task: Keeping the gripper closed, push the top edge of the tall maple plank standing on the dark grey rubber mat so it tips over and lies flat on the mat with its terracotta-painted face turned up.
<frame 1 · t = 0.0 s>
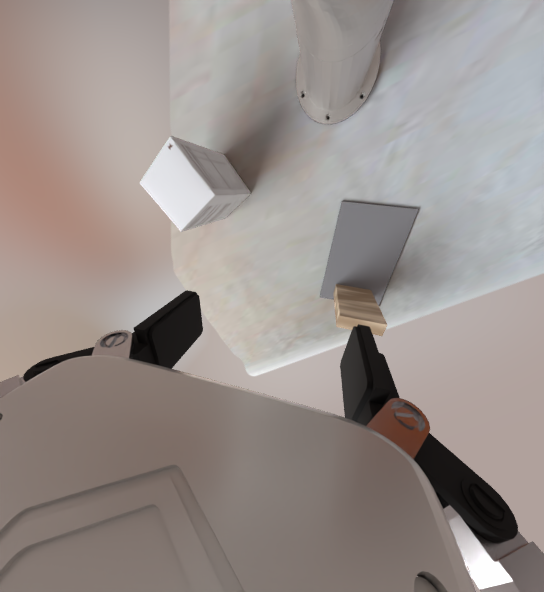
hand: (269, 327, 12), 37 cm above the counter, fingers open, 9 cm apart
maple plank: (351, 291, 47), resting on rubber mat
supplement box: (224, 189, 44), on the counter
rubber mat: (361, 259, 44), on the counter
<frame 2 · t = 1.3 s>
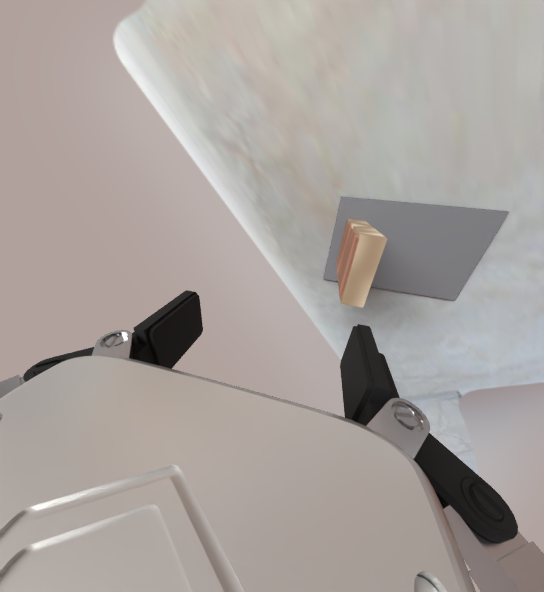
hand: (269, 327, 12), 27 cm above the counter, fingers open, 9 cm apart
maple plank: (349, 244, 33), resting on rubber mat
rubber mat: (399, 250, 32), on the counter
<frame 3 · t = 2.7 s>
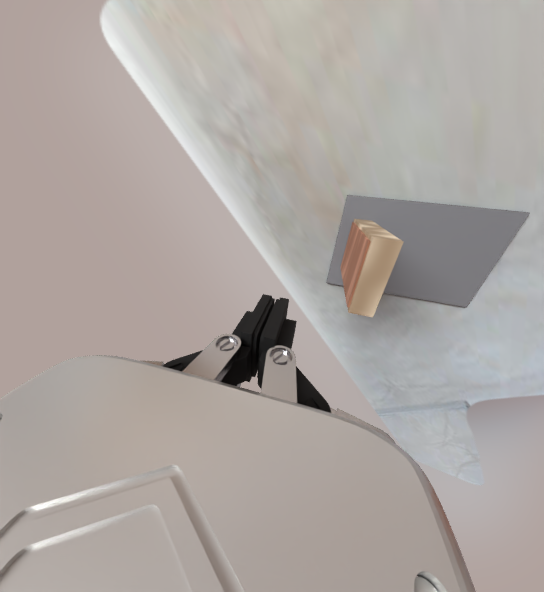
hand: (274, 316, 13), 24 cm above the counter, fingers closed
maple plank: (355, 246, 31), resting on rubber mat
rubber mat: (409, 253, 30), on the counter
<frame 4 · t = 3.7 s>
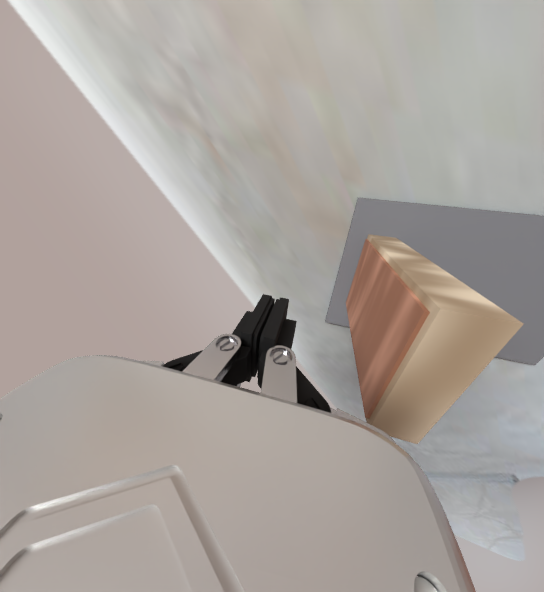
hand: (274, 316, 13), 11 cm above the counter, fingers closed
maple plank: (368, 274, 21), resting on rubber mat
rubber mat: (451, 286, 20), on the counter
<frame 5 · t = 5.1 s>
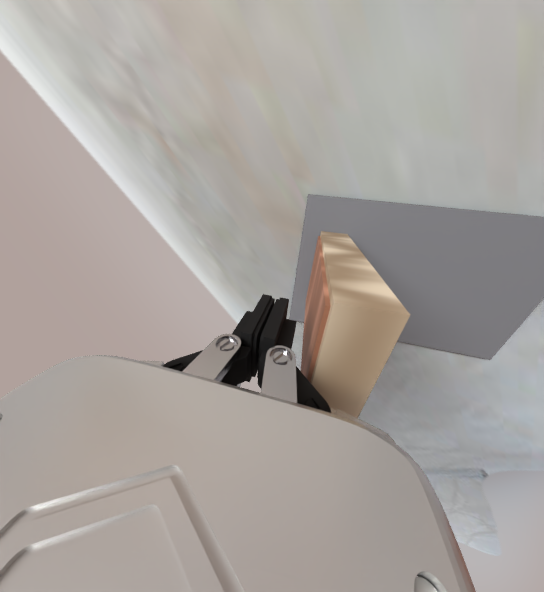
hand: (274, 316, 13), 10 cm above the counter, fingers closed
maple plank: (325, 271, 21), point 1 cm above the counter, touching rubber mat
rubber mat: (405, 282, 20), on the counter
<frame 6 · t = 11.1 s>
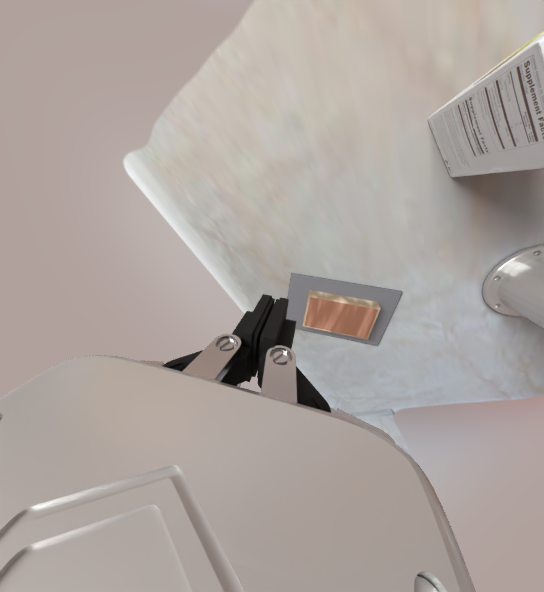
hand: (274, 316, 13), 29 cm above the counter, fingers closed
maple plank: (305, 308, 43), point 2 cm above the counter, tilted 90°, touching rubber mat
supplement box: (476, 123, 26), on the counter
rubber mat: (335, 309, 44), on the counter
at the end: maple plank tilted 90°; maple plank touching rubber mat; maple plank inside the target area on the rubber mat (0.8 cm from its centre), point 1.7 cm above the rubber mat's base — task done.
